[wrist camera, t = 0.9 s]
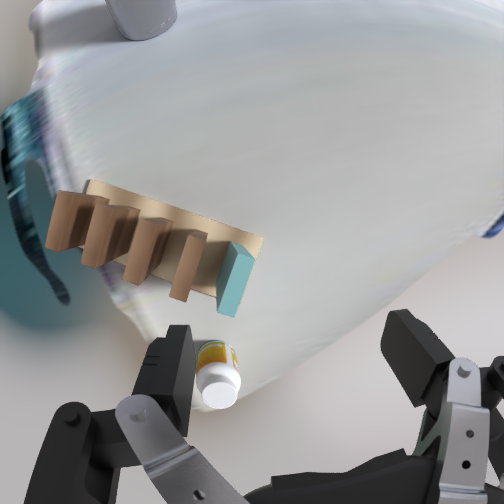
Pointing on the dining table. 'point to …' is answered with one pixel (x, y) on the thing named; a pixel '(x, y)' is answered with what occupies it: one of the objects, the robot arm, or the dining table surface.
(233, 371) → the supplement bottle
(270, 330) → the dining table surface
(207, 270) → the domino board
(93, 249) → the domino
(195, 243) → the domino
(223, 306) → the domino
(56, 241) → the domino
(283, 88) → the dining table surface
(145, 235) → the domino
